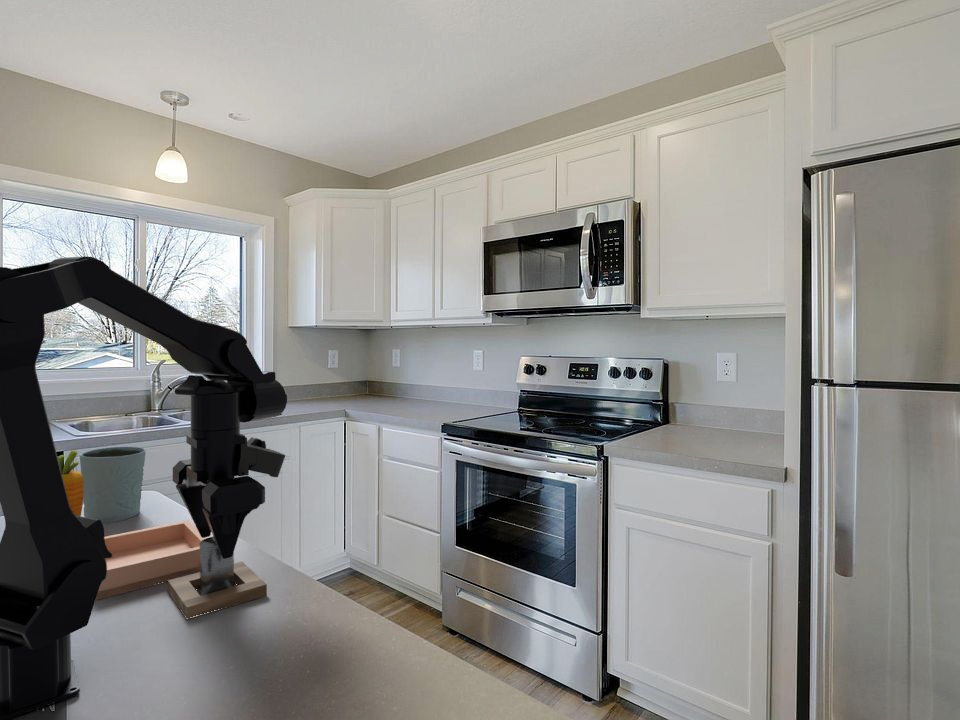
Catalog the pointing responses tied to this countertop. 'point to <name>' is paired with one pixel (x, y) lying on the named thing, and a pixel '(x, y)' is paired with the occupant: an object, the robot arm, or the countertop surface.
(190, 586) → the walnut collar
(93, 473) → the green embossed pot
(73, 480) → the carrot
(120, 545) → the terracotta tray
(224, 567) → the gunmetal pin
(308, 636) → the countertop surface
